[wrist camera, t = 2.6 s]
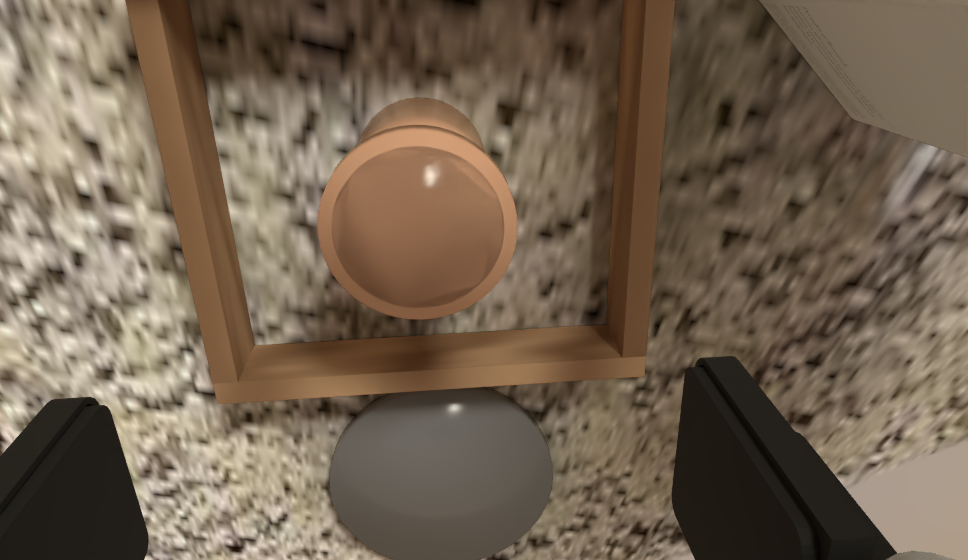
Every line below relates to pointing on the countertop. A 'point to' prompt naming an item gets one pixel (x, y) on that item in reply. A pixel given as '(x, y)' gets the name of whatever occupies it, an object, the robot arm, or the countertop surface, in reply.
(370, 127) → the terracotta pot
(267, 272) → the countertop surface
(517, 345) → the brown wooden square frame
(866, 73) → the supplement box
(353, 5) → the countertop surface
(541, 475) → the slate coaster
